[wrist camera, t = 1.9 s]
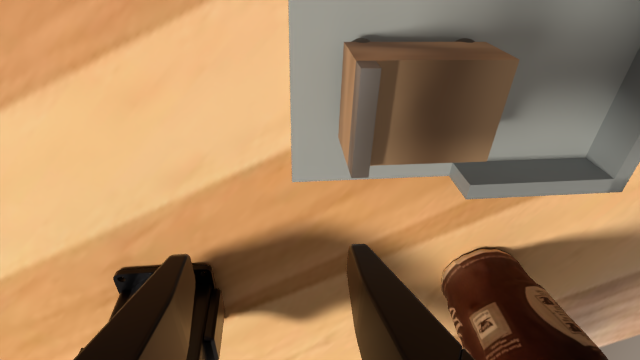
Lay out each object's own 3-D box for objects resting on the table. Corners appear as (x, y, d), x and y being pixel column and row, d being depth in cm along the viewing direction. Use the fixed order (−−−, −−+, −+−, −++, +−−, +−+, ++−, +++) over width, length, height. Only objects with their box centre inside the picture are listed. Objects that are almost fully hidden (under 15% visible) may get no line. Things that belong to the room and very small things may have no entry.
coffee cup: (519, 217, 27) (683, 407, 16) (541, 279, 31) (682, 460, 21) (411, 268, 29) (493, 469, 18) (446, 320, 33) (529, 506, 22)
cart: (335, 130, 21) (351, 180, 17) (340, 34, 18) (361, 65, 14) (453, 127, 22) (496, 174, 18) (476, 34, 19) (534, 64, 15)
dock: (291, 179, 23) (294, 207, 21) (287, -49, 16) (290, -46, 14) (589, 167, 25) (621, 191, 23) (694, -39, 18) (755, -35, 16)
